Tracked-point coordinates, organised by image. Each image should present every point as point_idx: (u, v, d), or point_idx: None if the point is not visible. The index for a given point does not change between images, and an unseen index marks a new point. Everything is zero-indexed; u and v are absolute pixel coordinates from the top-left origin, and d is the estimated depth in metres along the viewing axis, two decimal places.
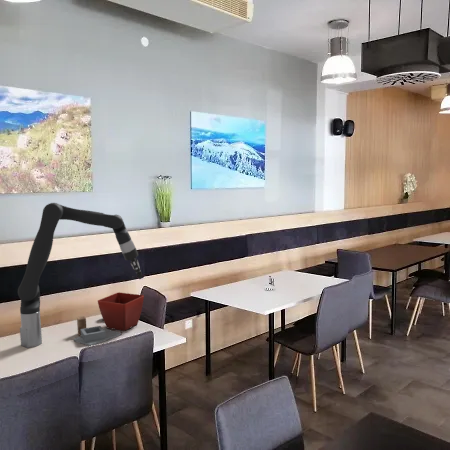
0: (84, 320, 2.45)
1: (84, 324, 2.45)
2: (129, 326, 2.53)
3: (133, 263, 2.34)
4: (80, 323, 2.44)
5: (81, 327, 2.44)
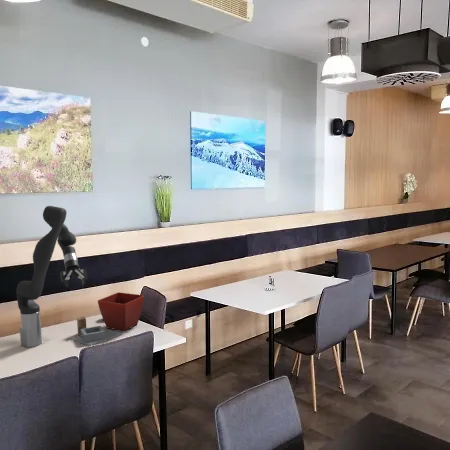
0: (84, 320, 2.45)
1: (84, 324, 2.45)
2: (129, 326, 2.53)
3: None
4: (80, 323, 2.44)
5: (81, 327, 2.44)
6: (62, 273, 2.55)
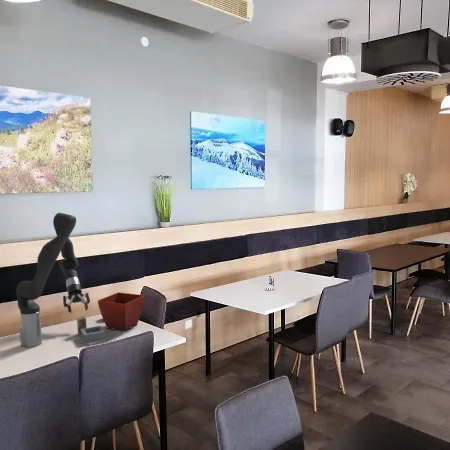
0: (84, 320, 2.45)
1: (84, 324, 2.45)
2: (129, 326, 2.53)
3: None
4: (80, 323, 2.44)
5: (81, 327, 2.44)
6: (64, 298, 2.53)
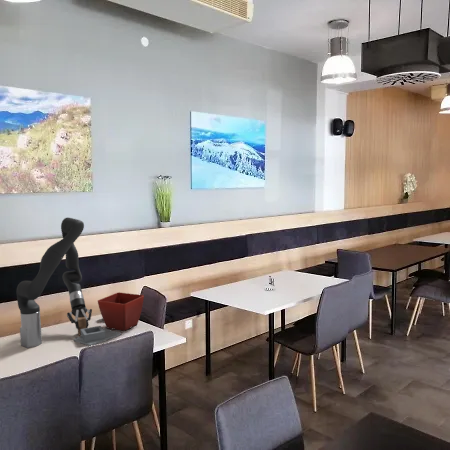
0: (84, 320, 2.45)
1: (84, 324, 2.45)
2: (129, 326, 2.53)
3: (91, 311, 2.52)
4: (80, 323, 2.44)
5: (81, 327, 2.44)
6: (69, 315, 2.46)
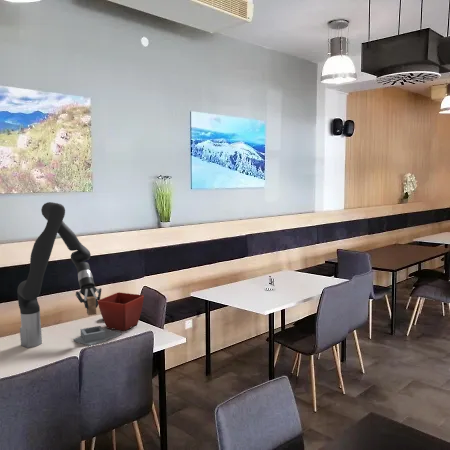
0: (93, 299, 2.35)
1: (93, 303, 2.35)
2: (129, 326, 2.53)
3: None
4: (89, 302, 2.34)
5: (90, 306, 2.34)
6: (78, 294, 2.36)
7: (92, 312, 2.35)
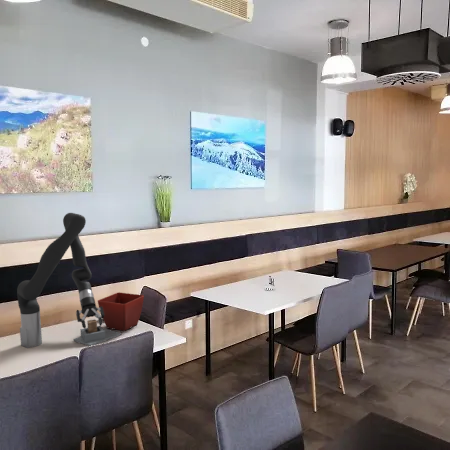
0: (95, 323, 2.36)
1: (95, 327, 2.36)
2: (129, 326, 2.53)
3: None
4: (91, 326, 2.35)
5: (92, 330, 2.36)
6: (78, 312, 2.37)
7: None
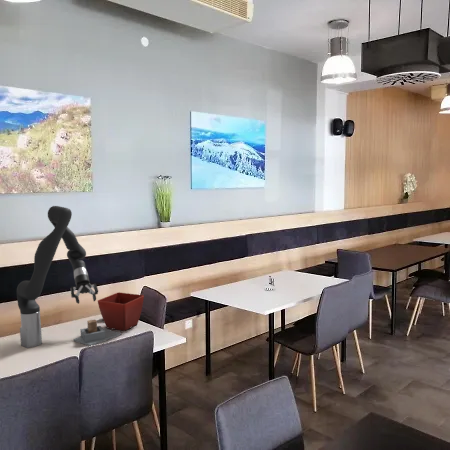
0: (95, 323, 2.36)
1: (95, 327, 2.36)
2: (129, 326, 2.53)
3: None
4: (91, 326, 2.35)
5: (92, 330, 2.36)
6: (72, 289, 2.47)
7: None
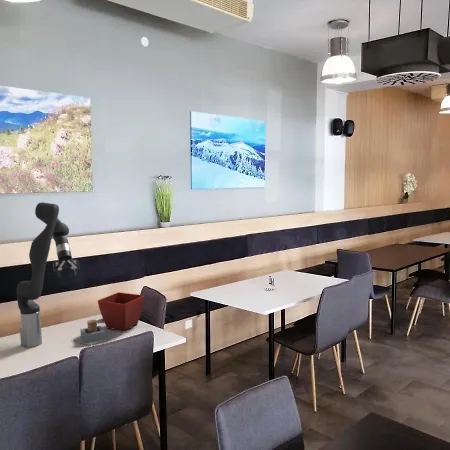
0: (95, 323, 2.36)
1: (95, 327, 2.36)
2: (129, 326, 2.53)
3: None
4: (91, 326, 2.35)
5: (92, 330, 2.36)
6: (54, 263, 2.52)
7: None
